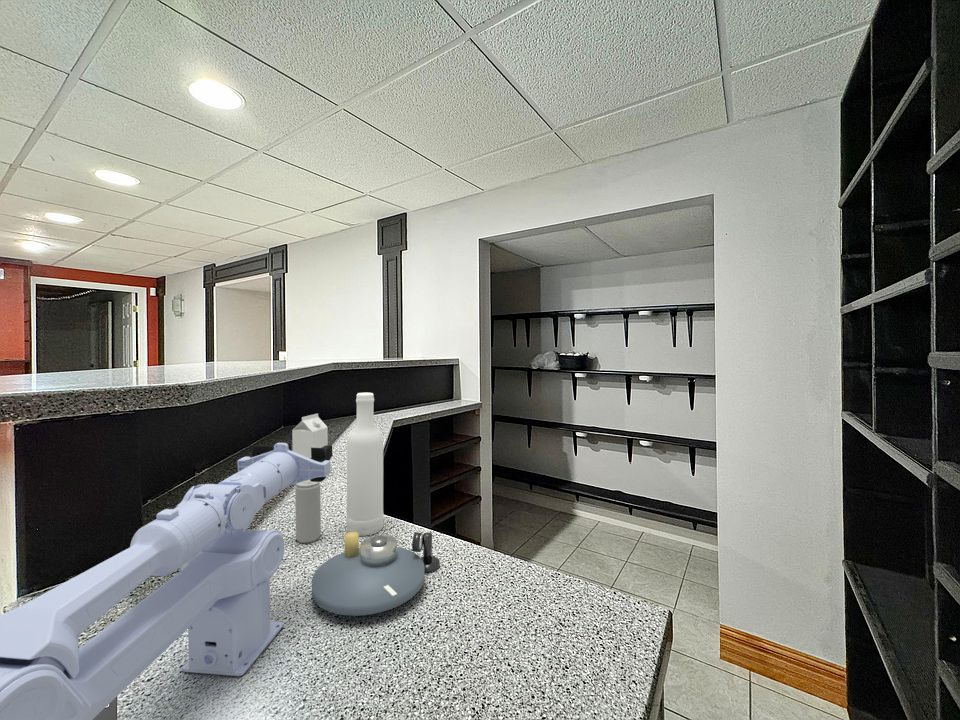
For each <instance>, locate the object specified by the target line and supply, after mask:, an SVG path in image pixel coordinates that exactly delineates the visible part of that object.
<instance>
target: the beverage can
mask: <svg viewBox="0 0 960 720" xmlns="http://www.w3.org/2000/svg"><path fill="white" fill-rule="evenodd" d="M294 489H295V490H294V491H295V493H294V494H295V495H294V496H295V498H294V499H295V501H294V503H295V540H297V542H299V543H301V544H311V543H313V542H316V541H317V540H318V539H319V538H320V537H321V532H322V531H321V530H322V528H321V524H322V523H321V519H322V518H321V517H322V516H321V510H322V509H321V505H322V504H321V482H311V481H310V480H306V481H303V482H300V483H297V484H295V487H294Z"/></svg>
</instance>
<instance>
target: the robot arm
mask: <svg viewBox="0 0 960 720" xmlns="http://www.w3.org/2000/svg"><path fill="white" fill-rule="evenodd" d="M251 455H252V456H244V457H241V458H239V459H238V460H237V462H236V463H237V472H236V473H235V472H234V474H232V475H230V476H228V477H227V478H225V479H224V480H222V481H220V482H218V484H217V483H205V484H204V483H201V484H197V485H193V486H191V487H190V488H189V489H188V491H187V492H186V493H185V494H184V496H183V498H182V500H181V501H180V502H179V503H178V504H177V505H176V506H175V507H174V508H165V509H163V510H161V511H159V512H158V513H157V514H156V519H154V520H152V521H150V522H149V523H147V524H145V525H143V526H141V527H140V528H138V530H136V532H135V533H134V534H133V536H132V538H131V541H130V546H129V547H128V548H126V549H124V550H122V551H120V552H119V553H116V554H115V555H113V556H112V557H109V558H108V559H105V560H104V561H102V562H100V563H98V564H96V565H95V566H93V567H91V568H89V569H87V570H85V571H84V572H81V573H80V574H78V575H76V576H74V577H72V578H70V579H69V580H66V581H65V582H63V583H61V584H59V585H57V586H56V587H54V588H52V589H50V590H48V591H46V592H44V593H43V594H41V595H38V596H37V597H35V598H33V599H32V600H30V601H28V602H26V603H24V604H22V605H20V606H18V607H16V608H14V609H11V610H9V611H7V612H4V613H2V614H0V720H94V719H95V717H97V716H98V715H99V714H100V713H101V712H102V711H103V710H105V708H106V707H107V706H108V705H110V703H112V702H113V701H114V700H115V699H116V698H117V697H118V696H119V695H120V694H121V693H122V692H123V691H124V690H125V689H127V688H128V687H129V686H130V684H131V683H133V681H135V680H136V679H137V678H138V677H139V676H140V675H141V674H142V673H143V672H144V671H145V670H146V669H147V668H149V667H150V666H151V664H153V663H154V662H155V661H156V660H157V659H158V658H159V657H160V656H161V655H162V654H163V653H164V652H165V651H166V650H167V649H169V648H170V647H171V645H172V644H173V643H174V642H176V641H177V639H179V638H180V637H181V636H182V635H183V634H184V633H185V632H186V631H187V630H188V632H187V633H188V635H187V636H188V637H187V639H188V641H187V642H188V644H187V645H188V646H187V647H188V661H187V662H186V663H185V664H184V665H183V666H182V672H186V673H195V674H196V673H197V674H206V675H207V674H209V675H219V676H232V677H241V676H243V675H244V674H246V673H247V671H248V670H249V669H250V668H251V666H252V665H253V664H254V662H255V661H257V659H258V657H259V656H260V655H261V654H262V653H263V651H264V650H265V649H266V648H267V647H268V646H269V644H271V642H272V641H273V640H274V639H275V637H276V636H277V635H278V634H279V632H280V631H281V629H282V628H283V627H284V624H285V623H284V622H283V621H275V620H271V586H270V585H271V583H270V581H271V578H272V577H273V576H274V574H275V573H276V572H277V571H278V569H279V568H280V566H281V564H282V561H283V558H284V554H285V553H284V552H285V540H284V538H283V534H282V532H281V531H280V530H278V529H269V530H264V529H263V530H262V529H249V526H250V525H251V523H252V522H253V520H254V517H255V516H256V514H257V513H258V512H259V511H260V510H262V508H263V506H264V504H266V503H268V502H269V501H270V500H271V499H273V498H274V497H275V496H277V495H278V494H279V493H281V492H282V491H283V490H284V489H286V488H288V487H291V486H293V485H296V484H297V483H300V482H303V481H306V480H310V481H311V482H319V483H322V482H324V481H325V480H326V479H327V476H328V475H329V474H330V473H332V472H331V459H332V458H333V445H332V444H331V445H329V444H328V445H326V446H324V447H321V448H311V458H307V457H305V456H302V455H300V454H298V453H295V452H293V450H292V443H286V442H277V443H275V444H274V445H265V444H264V445H263V444H257V445H255V446H253V448H252V449H251ZM180 568H181V569H180ZM178 569H180V571H178V572H177V573H176V574H174V573H175V572H176V571H177V570H178ZM171 574H174V576H172V577H171V578H170V579H168V580H167V581H166V582H164V583H163V584H162V585H160V586H159V587H157V588H156V589H155V590H153V592H151V593H150V594H149V595H147V596H146V597H144V598H143V599H142V600H141V601H139V602H138V603H137V604H136V605H134V606H133V607H132V608H130V609H129V610H127V611H126V612H125V613H124V614H122V615H121V616H120V617H118V618H117V619H116V620H115V621H113V622H112V623H110V624H109V625H107V627H105V628H104V629H102V630H101V631H100V632H99V633H97V634H96V635H95V636H94V637H92V638H91V639H90V640H88V641H86V643H84V644H83V645H82V646H80V647H79V636H80V635H81V634H82V633H83V632H84V631H86V630H87V629H88V628H89V627H91V626H92V625H93V624H94V623H96V622H97V621H98V620H99V619H101V618H102V616H104V615H105V614H106V613H107V612H109V611H110V610H111V609H112V608H113V607H115V606H116V605H117V604H118V603H119V602H121V601H122V600H123V599H124V598H126V597H127V596H128V595H129V594H131V593H132V591H134V590H136V588H137V587H139V586H140V585H141V584H142V583H144V582H145V581H146V580H147V579H148V578H150V577H151V576H153V577H165V576H169V575H171Z"/></svg>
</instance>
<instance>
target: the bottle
mask: <svg viewBox="0 0 960 720" xmlns="http://www.w3.org/2000/svg"><path fill="white" fill-rule="evenodd" d="M374 402H375V397H374V393H373V392H357V394H356V399H355V403H356V425H355V426H354V427H353V428H352V429H351V430H350V432H349V434H348V436H347V439H346V519H345V520H346V521H345V522H346V532H347V533H349V532H357V533H358V534H359V537H367V536H371V535H375V534H377V533H379V532H381V530H382V529H383V528H384V519H385V518H384V516H385V515H384V437H383V435H382V432H381V430H380V429H379V428H378V427H377V426H376V425H375V424H374V418H375V417H374V412H375V411H374V409H375V408H374Z"/></svg>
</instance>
